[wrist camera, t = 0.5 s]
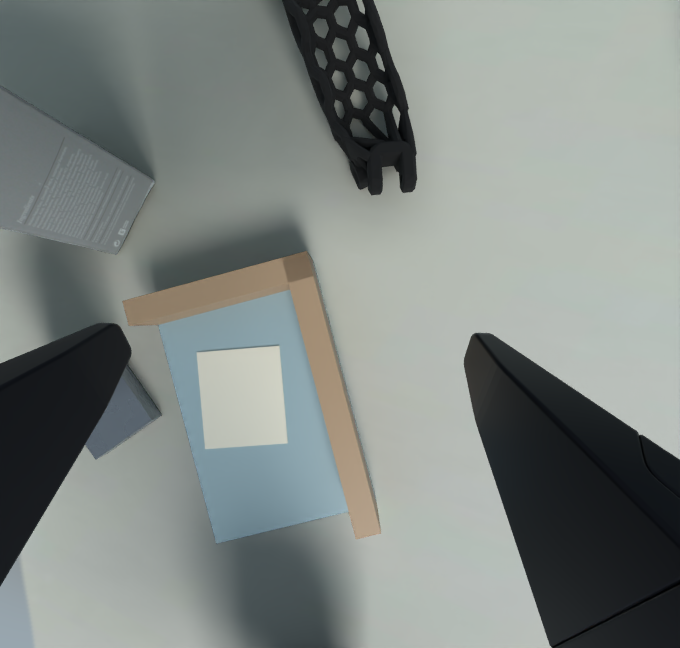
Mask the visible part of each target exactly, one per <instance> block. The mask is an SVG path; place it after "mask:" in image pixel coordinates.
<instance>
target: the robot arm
mask: <svg viewBox="0 0 680 648" xmlns="http://www.w3.org/2000/svg"><path fill="white" fill-rule="evenodd" d="M130 357H131V347H130V345H129V343H128V341H127V339H126V337H125V335H124V333H123V331H122V329H121V328H120V326H119V325H117V324H115V323H98V324H95V325H93V326H90V327H88V328H85V329H83V330H81V331H78V332H76V333H73V334H71V335H68V336H66V337H64V338H61V339H59V340H56V341H54V342H51V343H49V344H47V345H44V346H42V347H39V348H37V349H34V350H32V351H30V352H27V353H25V354H22V355H20V356H17V357H15V358H13V359H10V360H8V361H5V362H3V363H0V586H1V584H2V583H3V581H4V579H5V578H6V576H7V574H8V573H9V571H10V569H11V568H12V566H13V564H14V563H15V561H16V559H17V558H18V556H19V554H20V553H21V551H22V549H23V548H24V546H25V544H26V543H27V541H28V539H29V538H30V536H31V534H32V533H33V531H34V529H35V528H36V526H37V524H38V522H39V521H40V519H41V517H42V516H43V514H44V512H45V511H46V509H47V507H48V506H49V504H50V502H51V501H52V499H53V497H54V496H55V494H56V492H57V491H58V489H59V487H60V486H61V484H62V482H63V481H64V479H65V477H66V476H67V474H68V472H69V471H70V469H71V467H72V466H73V464H74V462H75V461H76V459H77V457H78V455H79V454H80V452H81V450H82V449H83V447H84V445H85V444H86V442H87V440H88V439H89V437H90V435H91V434H92V432H93V430H94V429H95V427H96V425H97V424H98V422H99V420H100V419H101V417H102V415H103V413H104V412H105V410H106V408H107V406H108V404H109V402H110V400H111V398H112V396H113V394H114V392H115V389H116V387H117V385H118V383H119V381H120V379H121V377H122V374H123V372H124V370H125V368H126V366H127V364H128V362H129V359H130ZM464 368H465V373H466V378H467V383H468V388H469V393H470V398H471V402H472V407H473V412H474V416H475V421H476V424H477V427H478V431H479V434H480V437H481V440H482V443H483V446H484V449H485V452H486V455H487V458H488V461H489V464H490V467H491V470H492V473H493V476H494V479H495V482H496V485H497V488H498V491H499V494H500V497H501V500H502V503H503V506H504V509H505V512H506V515H507V518H508V521H509V524H510V527H511V530H512V533H513V536H514V539H515V542H516V545H517V548H518V551H519V554H520V557H521V560H522V563H523V566H524V569H525V572H526V575H527V578H528V581H529V584H530V587H531V590H532V593H533V596H534V599H535V602H536V605H537V608H538V611H539V614H540V617H541V620H542V623H543V626H544V629H545V632H546V635H547V638H548V641H549V644H550V646H551V647H552V648H680V459H678V458H676V457H675V456H673V455H672V454H670V453H669V452H667V451H666V450H664V449H663V448H661V447H660V446H658V445H657V444H655V443H654V442H652V441H651V440H649V439H648V438H646V437H645V436H643V435H639V434H638V432H637V431H636V430H634V429H633V428H631V427H630V426H628V425H627V424H625V423H624V422H622V421H621V420H619V419H618V418H616V417H615V416H613V415H612V414H610V413H609V412H607V411H606V410H604V409H603V408H601V407H600V406H598V405H597V404H595V403H594V402H593V401H591V400H590V399H588V398H587V397H585V396H584V395H582V394H581V393H579V392H578V391H576V390H575V389H573V388H572V387H570V386H569V385H567V384H566V383H564V382H563V381H561V380H560V379H558V378H557V377H555V376H554V375H552V374H551V373H549V372H548V371H546V370H545V369H543V368H542V367H540V366H539V365H537V364H536V363H534V362H533V361H531V360H530V359H528V358H527V357H525V356H524V355H522V354H521V353H519V352H518V351H516V350H515V349H513V348H512V347H510V346H509V345H507V344H506V343H504V342H503V341H501V340H500V339H498V338H497V337H496V336H494V335H492V334H490V333H474V334H473V335H472V336H471V339H470V342H469V345H468V348H467V351H466V354H465V358H464Z"/></svg>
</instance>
